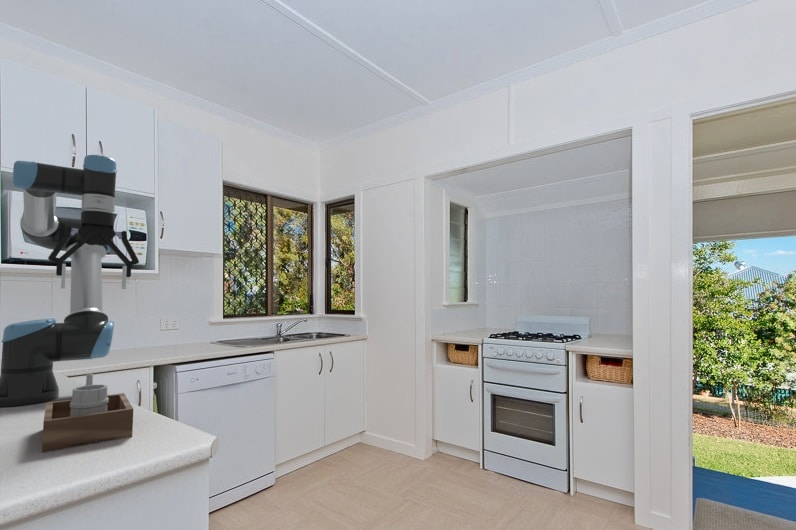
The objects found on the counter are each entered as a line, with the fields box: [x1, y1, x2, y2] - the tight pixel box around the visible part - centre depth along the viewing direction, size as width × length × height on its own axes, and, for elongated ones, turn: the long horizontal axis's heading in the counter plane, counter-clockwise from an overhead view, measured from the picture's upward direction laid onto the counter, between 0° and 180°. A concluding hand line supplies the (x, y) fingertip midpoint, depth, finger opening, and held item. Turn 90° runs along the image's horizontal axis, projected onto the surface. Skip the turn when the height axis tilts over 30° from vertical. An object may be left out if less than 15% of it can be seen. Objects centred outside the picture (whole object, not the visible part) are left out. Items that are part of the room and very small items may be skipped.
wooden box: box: [41, 392, 134, 453], centre depth 97 cm, size 18×15×6 cm
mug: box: [70, 373, 109, 417], centre depth 97 cm, size 8×12×12 cm, turn 38°
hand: (94, 288), depth 117 cm, fingers open, 13 cm apart
